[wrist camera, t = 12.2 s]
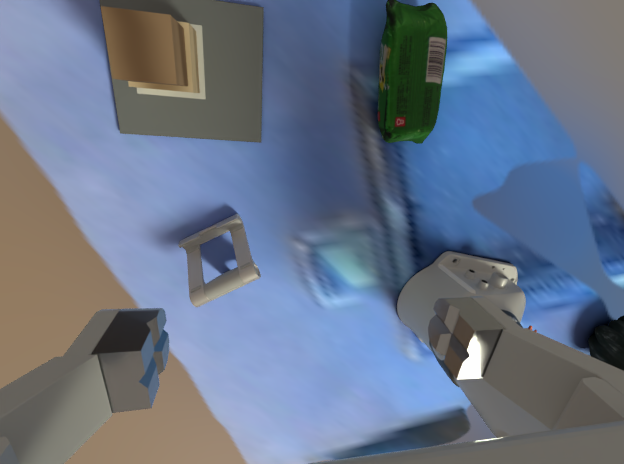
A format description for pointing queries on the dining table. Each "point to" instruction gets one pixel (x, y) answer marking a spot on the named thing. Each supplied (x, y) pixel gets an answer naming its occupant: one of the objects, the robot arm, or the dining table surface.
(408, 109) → the snack package
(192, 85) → the oak base block
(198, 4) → the mat
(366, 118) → the dining table surface
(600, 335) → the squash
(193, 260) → the portable electronic device stand
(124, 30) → the walnut cube
